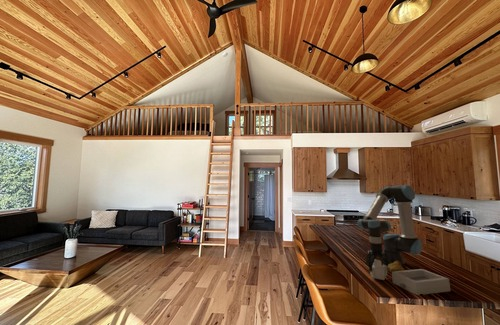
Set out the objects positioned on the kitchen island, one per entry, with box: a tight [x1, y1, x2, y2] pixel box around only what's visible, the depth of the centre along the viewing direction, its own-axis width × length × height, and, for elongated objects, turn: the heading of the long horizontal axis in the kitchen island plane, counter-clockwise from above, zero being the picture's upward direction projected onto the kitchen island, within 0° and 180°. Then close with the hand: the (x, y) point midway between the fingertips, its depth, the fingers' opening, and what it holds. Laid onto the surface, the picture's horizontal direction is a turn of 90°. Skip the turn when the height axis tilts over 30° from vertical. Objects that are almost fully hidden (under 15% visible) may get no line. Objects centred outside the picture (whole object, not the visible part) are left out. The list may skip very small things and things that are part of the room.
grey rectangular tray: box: [391, 268, 451, 296], centre depth 135 cm, size 17×26×7 cm, turn 100°
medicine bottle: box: [372, 258, 387, 281], centre depth 149 cm, size 7×7×12 cm
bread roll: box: [387, 261, 405, 274], centre depth 156 cm, size 13×10×8 cm
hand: (378, 275), depth 148 cm, fingers closed on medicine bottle, 10 cm apart
